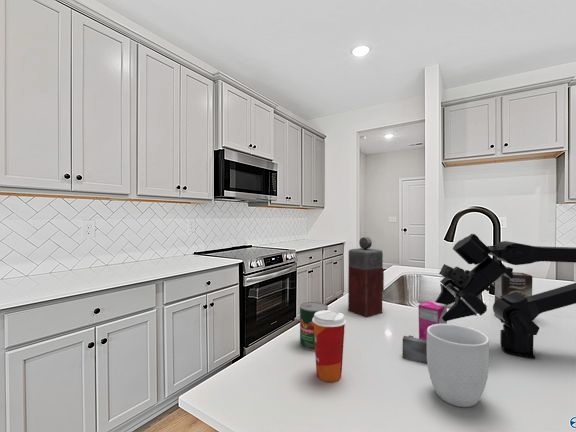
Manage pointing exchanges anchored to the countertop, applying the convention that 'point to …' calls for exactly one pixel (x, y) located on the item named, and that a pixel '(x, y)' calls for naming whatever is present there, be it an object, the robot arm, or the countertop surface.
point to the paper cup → (329, 344)
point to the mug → (457, 363)
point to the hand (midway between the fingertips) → (438, 314)
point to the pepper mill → (365, 279)
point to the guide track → (414, 349)
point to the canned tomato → (309, 323)
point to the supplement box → (430, 316)
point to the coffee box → (513, 285)
